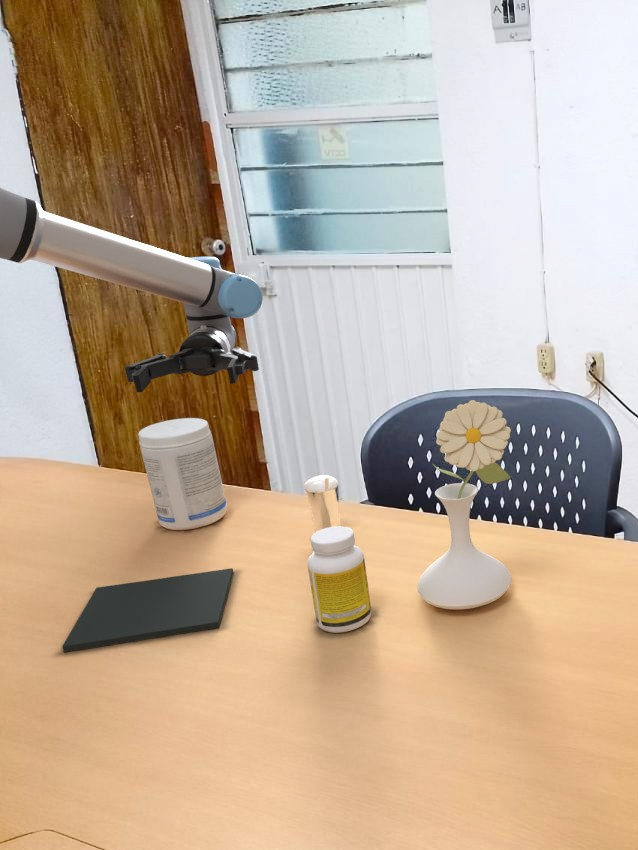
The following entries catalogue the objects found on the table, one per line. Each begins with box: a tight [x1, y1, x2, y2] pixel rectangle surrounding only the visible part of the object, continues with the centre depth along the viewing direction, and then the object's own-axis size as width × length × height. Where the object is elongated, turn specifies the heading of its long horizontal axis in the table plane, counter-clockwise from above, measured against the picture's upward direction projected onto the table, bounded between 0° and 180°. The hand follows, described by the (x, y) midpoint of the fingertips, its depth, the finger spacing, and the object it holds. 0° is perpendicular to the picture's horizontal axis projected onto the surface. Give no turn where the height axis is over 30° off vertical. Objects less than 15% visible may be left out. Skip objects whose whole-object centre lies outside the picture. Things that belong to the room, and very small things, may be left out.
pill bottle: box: [307, 525, 372, 634], centre depth 95 cm, size 6×6×11 cm
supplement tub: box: [137, 417, 228, 531], centre depth 123 cm, size 10×10×15 cm
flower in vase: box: [416, 399, 512, 610], centre depth 97 cm, size 13×11×25 cm
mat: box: [61, 567, 234, 653], centre depth 100 cm, size 16×14×1 cm
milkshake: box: [303, 474, 341, 533], centre depth 116 cm, size 5×5×10 cm
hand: (185, 379), depth 131 cm, fingers open, 13 cm apart
